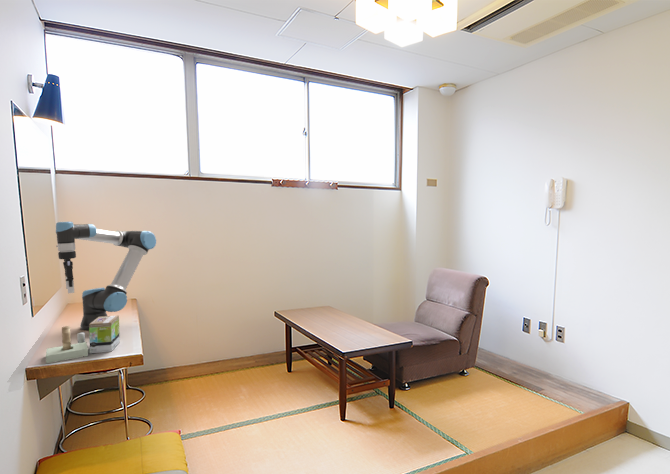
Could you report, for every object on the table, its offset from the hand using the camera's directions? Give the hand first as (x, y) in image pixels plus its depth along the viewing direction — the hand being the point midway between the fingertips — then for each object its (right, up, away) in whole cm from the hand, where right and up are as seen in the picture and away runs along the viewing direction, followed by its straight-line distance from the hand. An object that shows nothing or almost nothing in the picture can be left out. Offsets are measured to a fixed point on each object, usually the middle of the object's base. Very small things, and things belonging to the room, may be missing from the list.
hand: (70, 290), depth 202 cm
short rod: (+11, -28, -8) cm, 31 cm away
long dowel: (+13, -28, -20) cm, 37 cm away
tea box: (+24, -28, -10) cm, 38 cm away
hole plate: (+13, -28, -20) cm, 37 cm away
